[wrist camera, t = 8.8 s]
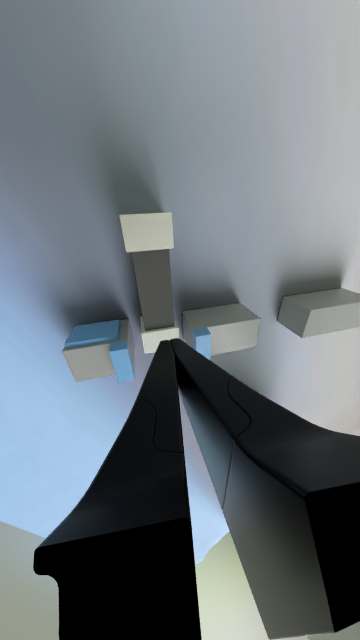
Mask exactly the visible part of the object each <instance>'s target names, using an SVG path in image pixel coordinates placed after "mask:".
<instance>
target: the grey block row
mask: <svg viewBox="0 0 360 640" xmlns="http://www.w3.org/2000/svg"><path fill="white" fill-rule="evenodd" d="M182 317H183V336H184V340H185V342H186V344H188V345H189V346H190V347H192V348H193V349H195V350H196V351H198V352H199V353H200V354H202V355H203V356H205V357H206V358H208V359H209V360H211V356H212V355H217V354H222V353H227V352H233V351H238V350H243V349H248V348H253V347H256V341H257V336H258V331H259V325H260V320H261V318H259V317H258V316H257V315H255V314H254V313H253V312H251V311H250V310H249V309H247V308H246V307H245V306H243V305H242V304H241V303H236V304H229V305H222V306H215V307H209V308H202V309H195V310H188V311H182ZM277 321H278V322H279V323H280V324H282V325H283V326H285V327H286V328H288V329H289V330H291V331H292V332H294V333H295V334H297V335H298V336H300V337H301V338H305V337H310V336H315V335H320V334H325V333H330V332H335V331H341V330H346V329H351V328H356V327H360V294H359V293H356V292H352V291H349V290H346V289H343V288H338V289H332V290H325V291H318V292H311V293H304V294H297V295H291V296H284V297H283V299H282V303H281V307H280V312H279V316H278V320H277ZM64 345H65V347H64V349H63V350H62V353H63V355H64V357H65V359H66V362H67V364H68V366H69V368H70V370H71V372H72V374H73V377H74V379H75V381H76V382H78V381H84V380H89V379H94V378H99V377H104V376H109V375H114V374H116V376H117V379H118V382H119V383H121V382H125V381H130V380H135V346H134V341H133V336H132V332H131V327H130V322H129V319H127V320H113V321H106V322H99V323H92V324H85V325H78V326H74V328H73V330H72V332H71V333H70V335H69V337H68V338H67V340H66V342H65V344H64Z"/></svg>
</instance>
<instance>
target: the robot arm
mask: <svg viewBox="0 0 360 640" xmlns="http://www.w3.org/2000/svg"><path fill="white" fill-rule="evenodd" d="M178 389H179V392H180V395H181V397H182V400H183V403H184V406H185V409H186V411H187V414H188V417H189V420H190V422H191V425H192V428H193V431H194V433H195V436H196V439H197V442H198V444H199V447H200V450H201V453H202V456H203V458H204V461H205V464H206V467H207V469H208V472H209V475H210V478H211V480H212V483H213V486H214V489H215V492H216V494H217V497H218V500H219V503H220V505H221V508H222V510H223V514H224V517H225V519H226V522H227V525H228V528H229V530H230V533H231V536H232V538H233V541H234V544H235V547H236V550H237V553H238V555H239V558H240V561H241V563H242V566H243V569H244V571H245V574H246V577H247V580H248V583H249V586H250V588H251V591H252V594H253V597H254V599H255V602H256V605H257V608H258V611H259V613H260V616H261V619H262V622H263V624H264V627H265V630H266V632H267V635H268V638H269V639H270V640H271V639H281V638H290V637H299V636H307V637H308V639H309V640H360V436H356V435H350V434H345V433H339V432H335V431H331V430H328V429H325V428H322V427H319V426H317V425H315V424H313V423H310V422H309V421H307V420H305V419H303V418H301V417H299V416H298V415H296V414H294V413H292V412H291V411H289V410H287V409H285V408H284V407H282V406H280V405H278V404H277V403H275V402H273V401H271V400H270V399H268V398H266V397H265V396H263V395H261V394H260V393H258V392H256V391H255V390H253V389H251V388H250V387H248V386H247V385H245V384H244V383H242V382H241V381H239V380H238V379H236V378H235V377H233V376H232V375H230V374H229V373H228V372H226V371H225V370H223V369H222V368H220V367H219V366H218V365H216V364H215V363H213V362H212V361H210V360H209V359H208V358H206V357H205V356H203V355H202V354H200V353H199V352H198V351H196V350H195V349H193V348H192V347H190V346H189V345H188V344H186V343H185V342H183V341H182V340H180V339H179V338H174V339H170V341H169V340H163V341H160V343H159V345H158V348H157V350H156V352H155V355H154V357H153V360H152V362H151V365H150V367H149V369H148V372H147V374H146V377H145V379H144V382H143V384H142V386H141V389H140V391H139V394H138V396H137V398H136V401H135V403H134V405H133V408H132V410H131V412H130V414H129V416H128V419H127V420H126V422H125V424H124V426H123V428H122V430H121V432H120V434H119V435H118V437H117V439H116V441H115V443H114V444H113V446H112V448H111V450H110V451H109V453H108V455H107V457H106V459H105V460H104V462H103V464H102V466H101V467H100V469H99V471H98V473H97V475H96V476H95V478H94V480H93V481H92V483H91V485H90V487H89V488H88V490H87V491H86V493H85V494H84V496H83V497H82V499H81V500H80V501H79V503H78V504H77V505H76V507H75V508H74V509H73V510H72V512H71V513H70V514H69V515H68V516H67V517H66V518H65V519H64V520H63V521H62V522H61V523H60V525H59V526H58V527H57V528H56V529H55V530H54V531H53V532H52V533H51V534H50V535H49V536H48V537H47V538H46V539H45V540H44V541H43V542H42V543H41V544H40V545H39V546H38V547H37V549H36V550H35V552H34V567H33V568H34V571H35V573H36V574H38V575H49V576H51V577H53V578H54V579H55V580H56V581H57V583H58V588H59V640H201V629H200V618H199V607H198V595H197V584H196V573H195V561H194V549H193V538H192V526H191V516H190V507H189V497H188V487H187V477H186V467H185V457H184V446H183V435H182V425H181V414H180V404H179V393H178Z"/></svg>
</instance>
